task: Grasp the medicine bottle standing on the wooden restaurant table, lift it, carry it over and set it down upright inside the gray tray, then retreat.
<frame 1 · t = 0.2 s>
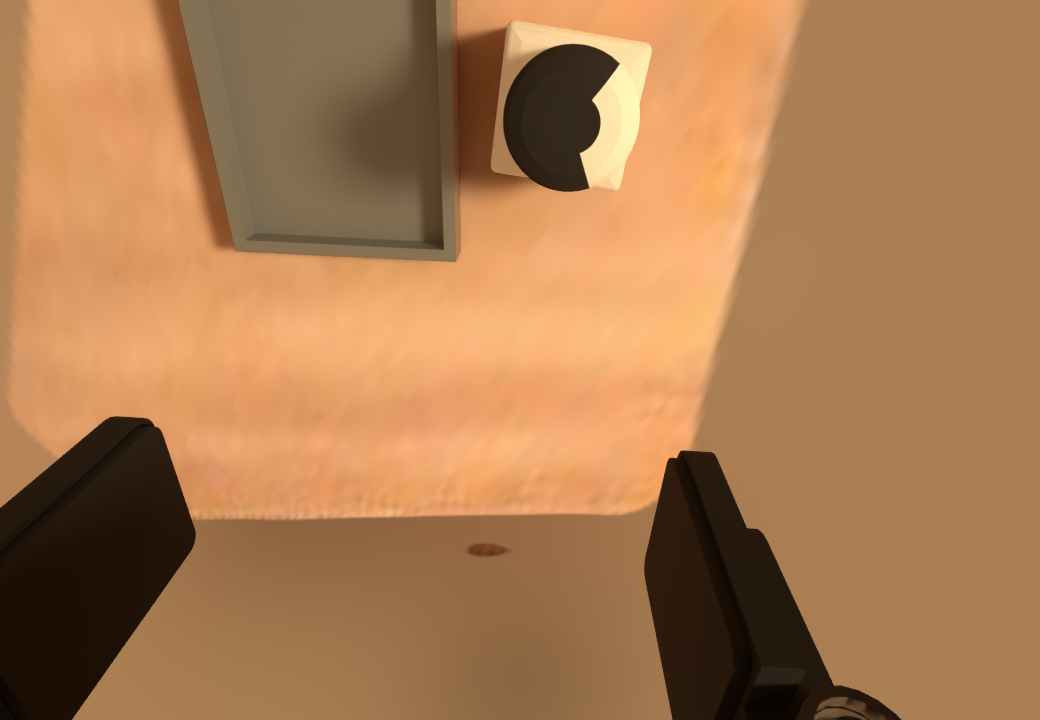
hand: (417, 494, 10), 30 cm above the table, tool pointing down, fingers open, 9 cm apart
gray tray: (338, 89, 34), on the table
medicine bottle: (562, 99, 34), on the table
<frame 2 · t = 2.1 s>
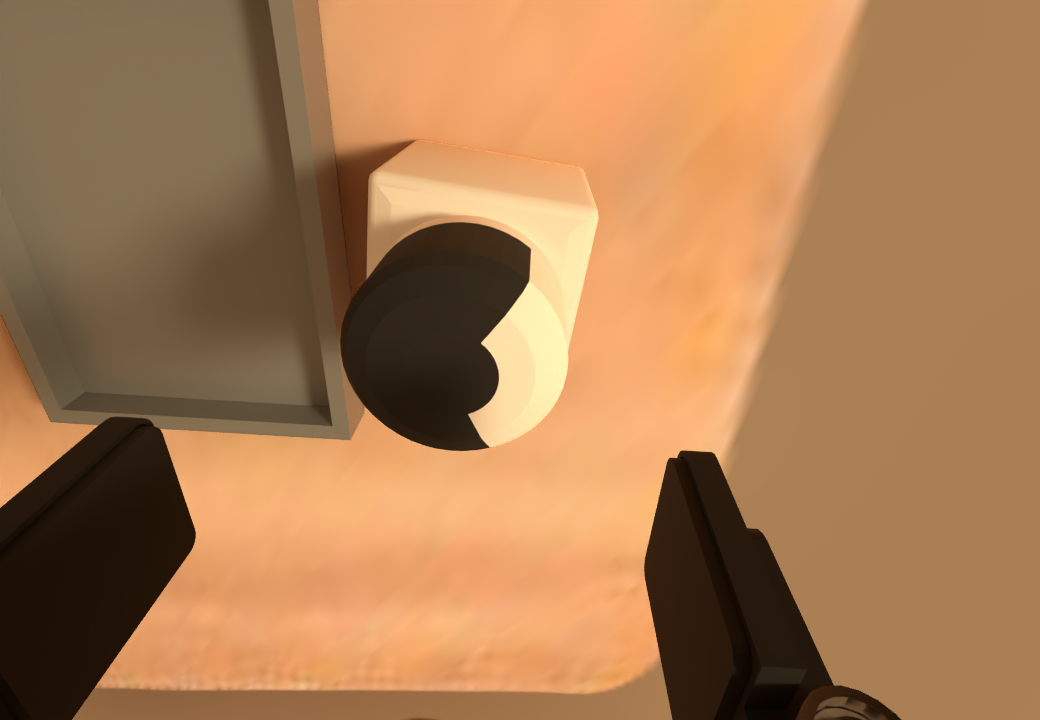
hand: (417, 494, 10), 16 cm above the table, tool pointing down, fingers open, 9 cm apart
gray tray: (175, 217, 24), on the table
medicine bottle: (489, 234, 24), on the table
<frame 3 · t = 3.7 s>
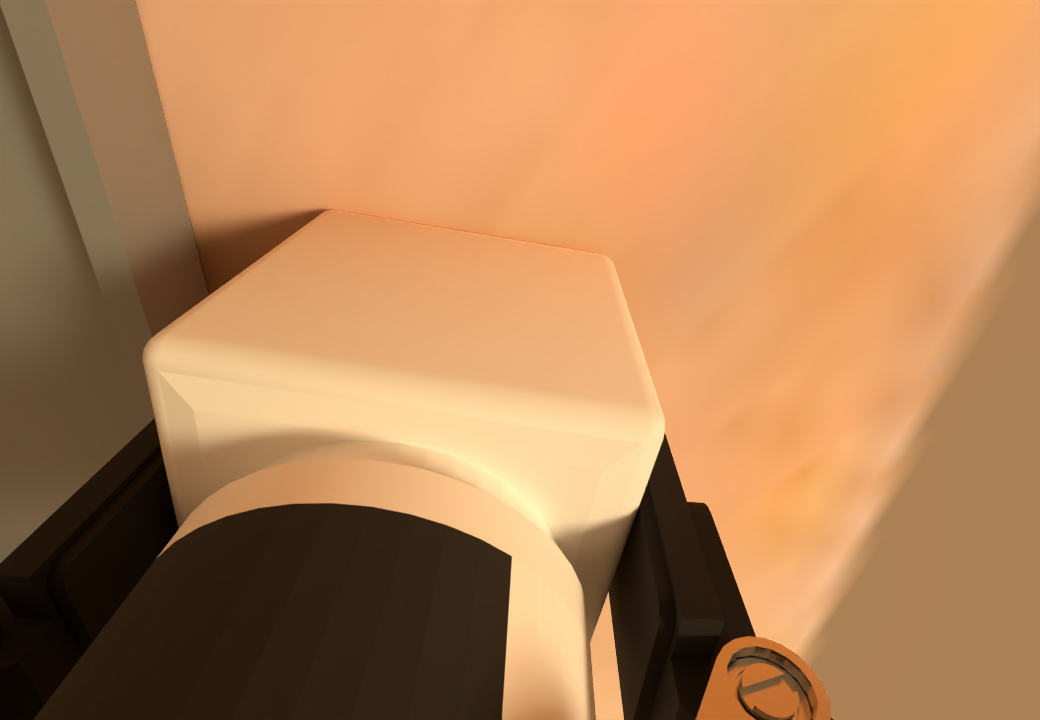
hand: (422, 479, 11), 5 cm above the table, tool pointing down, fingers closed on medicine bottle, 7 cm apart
medicine bottle: (457, 351, 15), on the table, touching gripper
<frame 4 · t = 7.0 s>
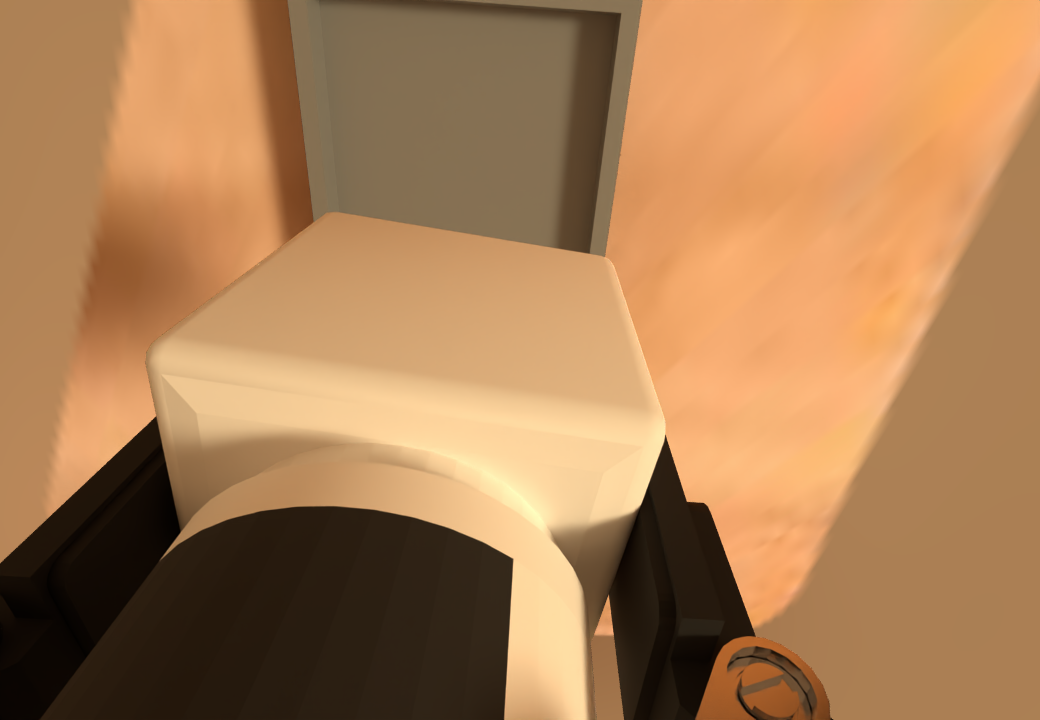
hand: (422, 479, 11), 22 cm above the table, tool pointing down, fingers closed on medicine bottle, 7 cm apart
gray tray: (466, 206, 30), on the table
medicine bottle: (458, 353, 15), point 17 cm above the table, touching gripper
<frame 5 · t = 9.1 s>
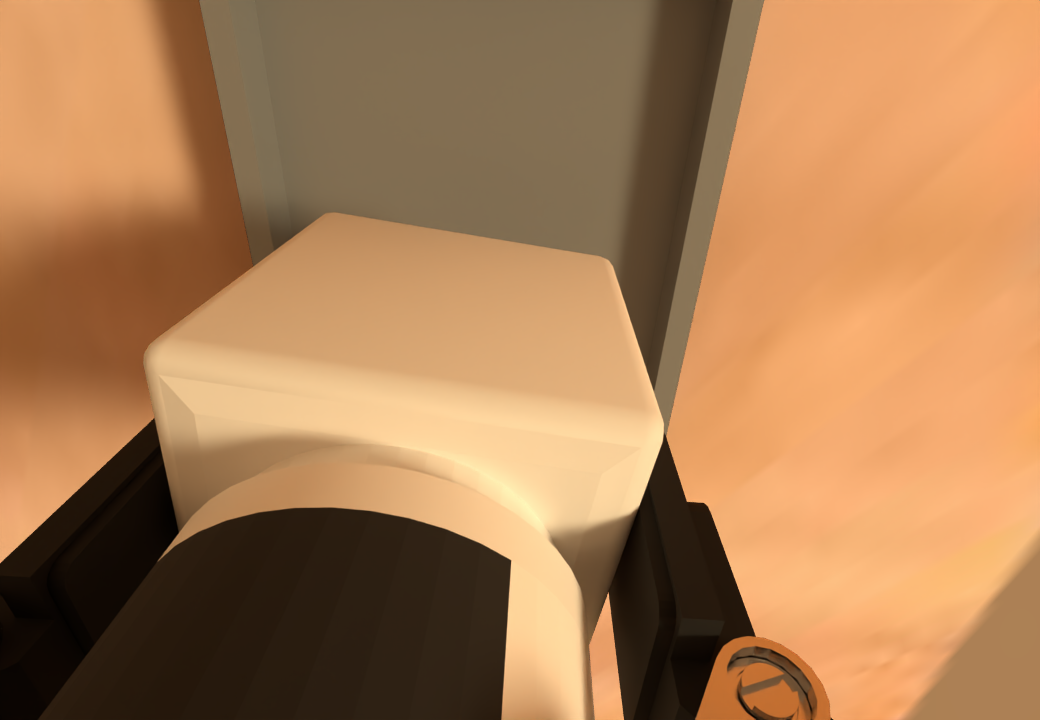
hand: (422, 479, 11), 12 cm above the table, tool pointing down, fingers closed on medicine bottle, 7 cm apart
gray tray: (481, 267, 21), on the table
medicine bottle: (457, 353, 15), point 6 cm above the table, touching gripper
when the fingers open (7 cm above the table, at t = 10.6 s): medicine bottle drops 1 cm, resting on gray tray.
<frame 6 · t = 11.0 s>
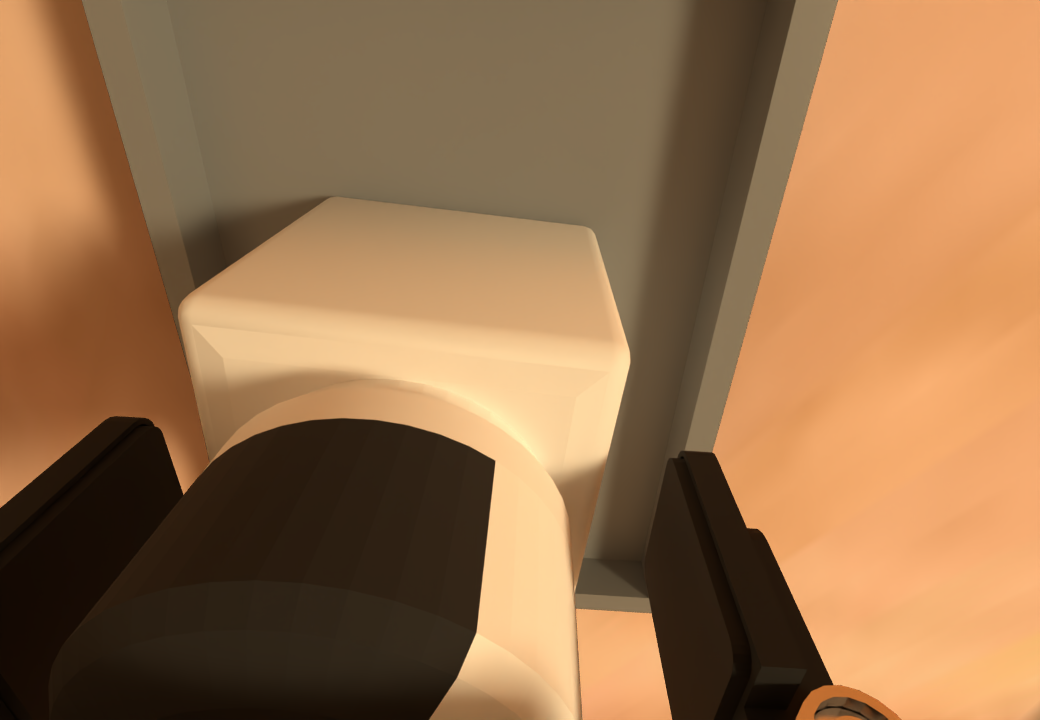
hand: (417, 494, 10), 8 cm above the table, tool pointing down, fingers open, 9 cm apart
gray tray: (466, 321, 17), on the table
medicine bottle: (456, 325, 16), point 1 cm above the table, touching gray tray
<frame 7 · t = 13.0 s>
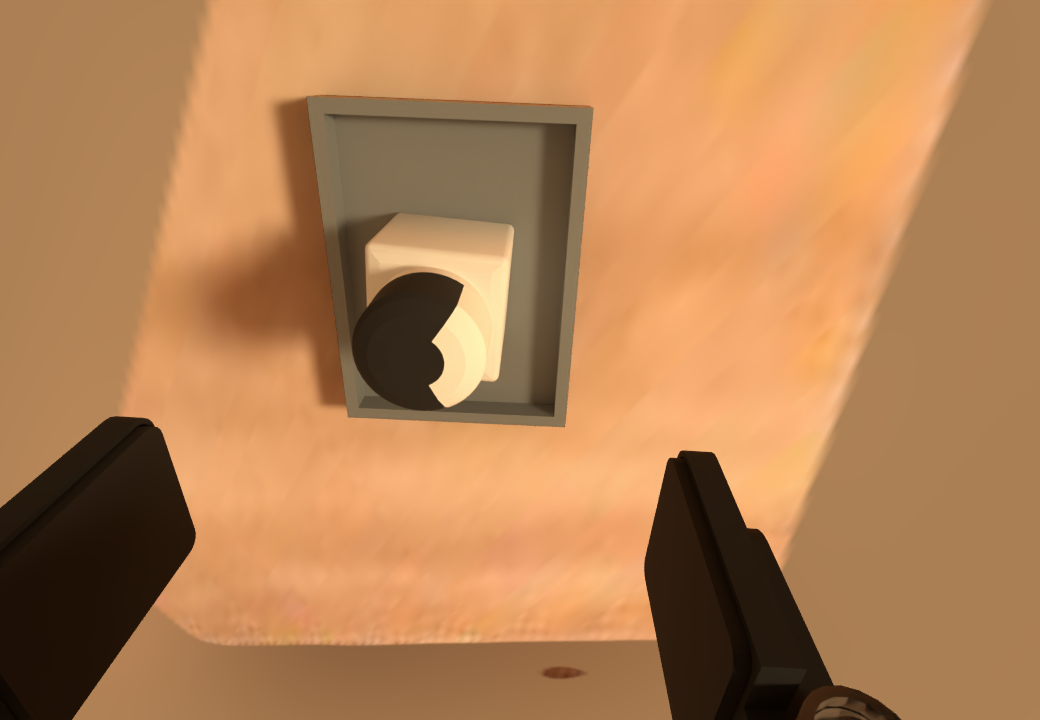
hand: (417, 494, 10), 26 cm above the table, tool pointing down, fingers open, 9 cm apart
gray tray: (458, 271, 35), on the table
medicine bottle: (453, 272, 35), point 1 cm above the table, touching gray tray
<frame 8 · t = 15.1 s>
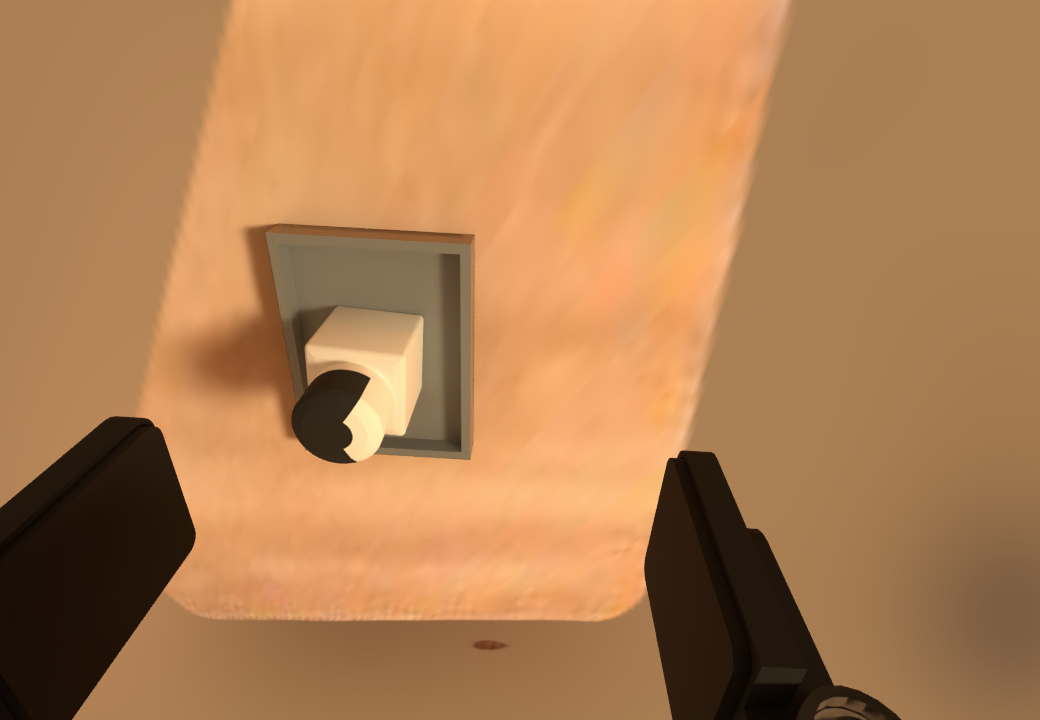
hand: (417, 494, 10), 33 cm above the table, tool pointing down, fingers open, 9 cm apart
gray tray: (386, 344, 47), on the table
medicine bottle: (381, 346, 46), point 1 cm above the table, touching gray tray
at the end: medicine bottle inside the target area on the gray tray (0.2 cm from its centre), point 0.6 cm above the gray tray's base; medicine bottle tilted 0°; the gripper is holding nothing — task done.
